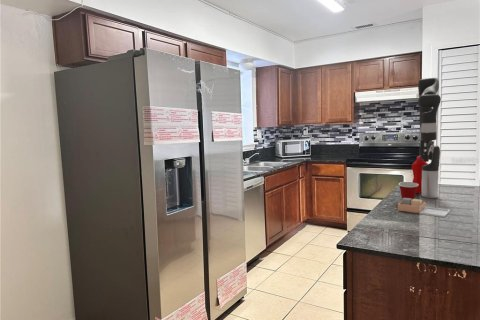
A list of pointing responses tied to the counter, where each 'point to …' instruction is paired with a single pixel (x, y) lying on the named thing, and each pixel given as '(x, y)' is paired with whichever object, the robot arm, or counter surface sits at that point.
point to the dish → (411, 207)
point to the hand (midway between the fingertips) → (428, 160)
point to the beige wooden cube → (416, 202)
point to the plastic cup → (408, 189)
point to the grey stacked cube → (406, 201)
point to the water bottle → (418, 173)
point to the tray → (435, 211)
